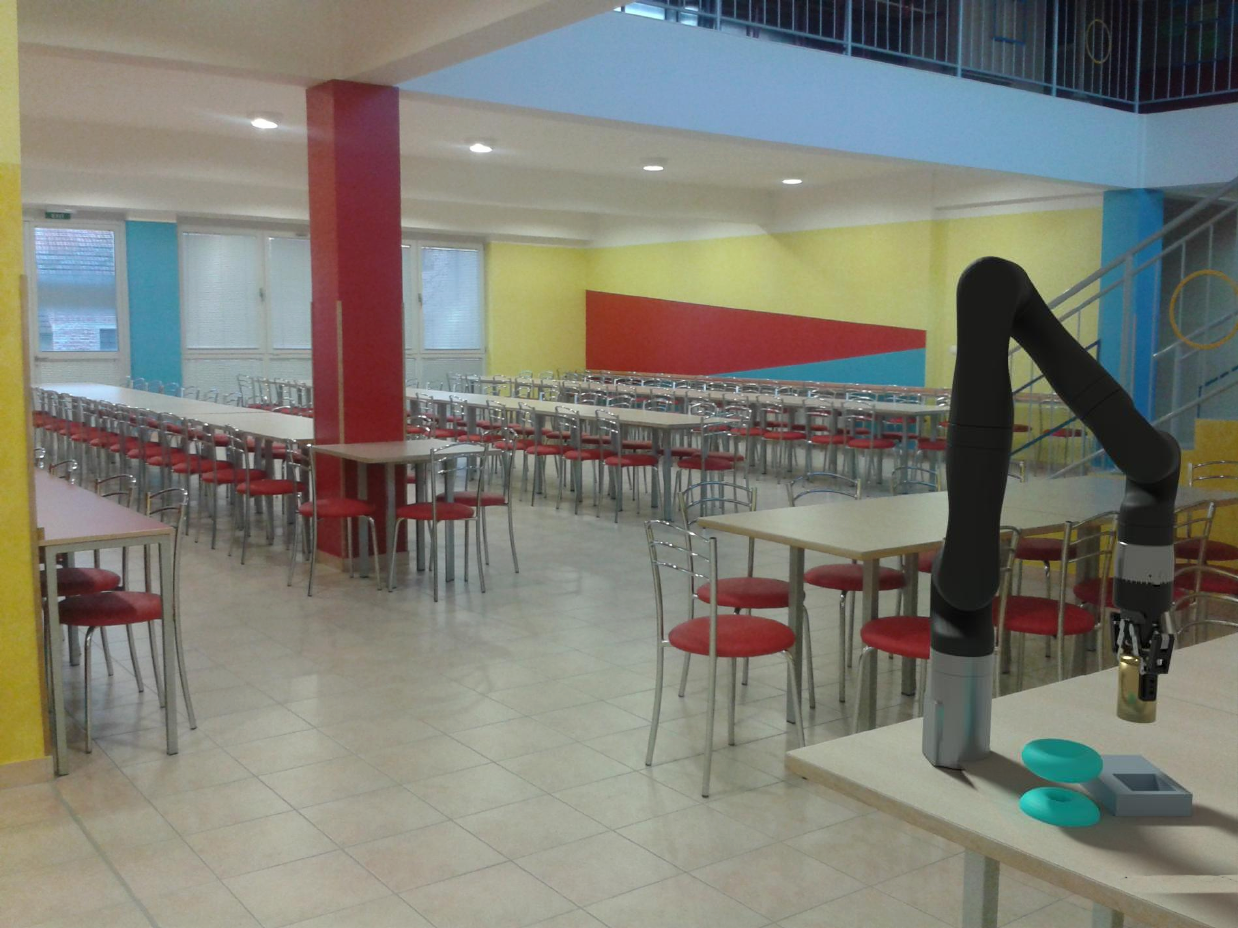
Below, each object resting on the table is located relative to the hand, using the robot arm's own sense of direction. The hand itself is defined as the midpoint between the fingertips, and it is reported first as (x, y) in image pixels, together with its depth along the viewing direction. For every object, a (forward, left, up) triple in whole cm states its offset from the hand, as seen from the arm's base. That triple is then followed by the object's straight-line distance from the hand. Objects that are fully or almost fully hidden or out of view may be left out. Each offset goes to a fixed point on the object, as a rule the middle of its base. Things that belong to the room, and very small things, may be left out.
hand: (1137, 693), depth 154 cm
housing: (-2, -4, -15) cm, 15 cm away
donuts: (-14, -9, -15) cm, 22 cm away
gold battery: (0, 0, -3) cm, 3 cm away
